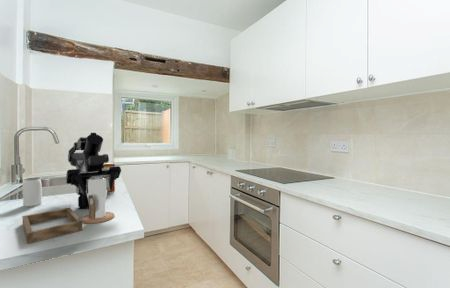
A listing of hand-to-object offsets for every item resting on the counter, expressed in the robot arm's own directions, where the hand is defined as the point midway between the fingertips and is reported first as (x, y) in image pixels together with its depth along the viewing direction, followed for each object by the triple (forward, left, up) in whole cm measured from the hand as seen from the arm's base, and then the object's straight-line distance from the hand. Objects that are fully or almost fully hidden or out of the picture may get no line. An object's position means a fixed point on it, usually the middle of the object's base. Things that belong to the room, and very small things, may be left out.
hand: (98, 191), depth 86 cm
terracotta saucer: (0, 0, -10) cm, 10 cm away
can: (+28, -31, -10) cm, 43 cm away
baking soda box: (0, -46, -11) cm, 47 cm away
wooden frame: (+14, +3, -10) cm, 18 cm away
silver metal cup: (0, 0, -10) cm, 10 cm away
